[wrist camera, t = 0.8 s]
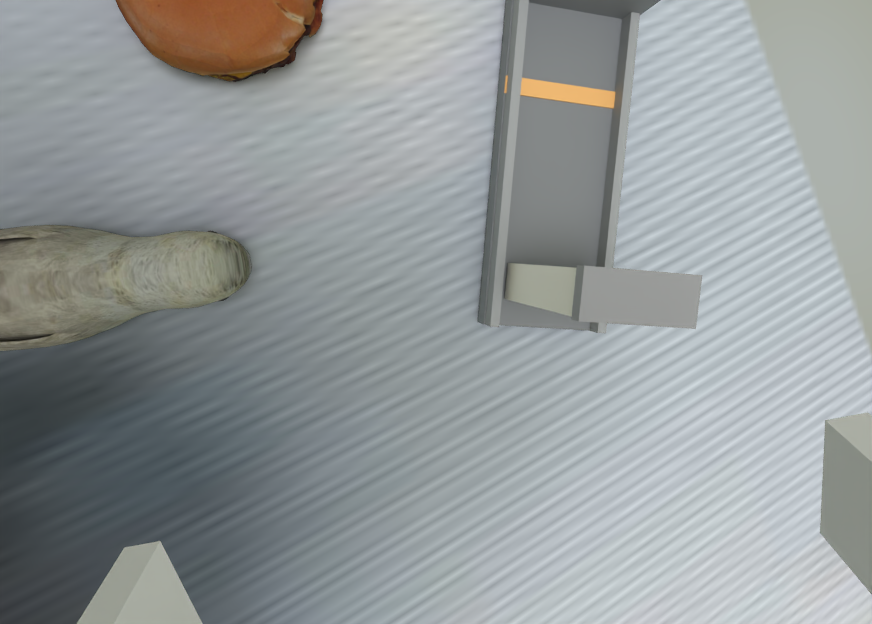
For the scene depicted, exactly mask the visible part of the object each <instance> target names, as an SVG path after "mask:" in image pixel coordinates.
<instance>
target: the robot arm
mask: <svg viewBox="0 0 872 624" xmlns="http://www.w3.org/2000/svg"><path fill="white" fill-rule="evenodd" d="M820 533H821V534H822V536H823V537H824V538H825V539H826V540H827V542H828V543H829V544H830V545H831V546H832V548H833V549H834V550H835V551H836V552H837V554H838V555H839V556H840V557H841V558H842V559H843V561H844V562H845V563H846V564H847V565H848V567H849V568H850V569H851V570H852V571H853V573H854V574H855V575H856V576H857V577H858V579H859V580H860V581H861V582H862V583H863V585H864V586H865V587H866V588H867V589H868V591H869V592H870V593H871V594H872V416H871V415H870V414H869V413H863V414H857V415H852V416H846V417H841V418H835V419H830V420H825V438H824V459H823V480H822V502H821V523H820ZM77 624H202V622H201V620H200V618H199V616H198V614H197V612H196V610H195V608H194V606H193V604H192V602H191V600H190V598H189V597H188V595H187V593H186V591H185V589H184V587H183V585H182V583H181V581H180V579H179V577H178V575H177V573H176V571H175V569H174V567H173V565H172V563H171V561H170V559H169V557H168V555H167V554H166V552H165V550H164V548H163V546H162V544H161V542H160V541H158V542H152V543H147V544H141V545H136V546H130V547H125V548H124V549H123V551H122V552H121V554H120V555H119V557H118V559H117V560H116V562H115V563H114V565H113V567H112V568H111V570H110V571H109V573H108V575H107V576H106V578H105V579H104V581H103V583H102V584H101V586H100V587H99V589H98V591H97V592H96V594H95V595H94V597H93V599H92V600H91V602H90V603H89V605H88V607H87V608H86V610H85V611H84V613H83V615H82V616H81V618H80V619H79V621H78V623H77Z"/></svg>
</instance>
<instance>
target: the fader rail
mask: <svg viewBox="0 0 872 624" xmlns="http://www.w3.org/2000/svg"><path fill="white" fill-rule="evenodd" d="M659 1H660V0H506V5H505V16H504V27H503V39H502V50H501V62H500V73H499V84H498V96H497V107H496V119H495V130H494V142H493V153H492V164H491V176H490V187H489V199H488V210H487V222H486V233H485V244H484V256H483V267H482V279H481V290H480V302H479V313H478V322H480V323H482V324H486V325H488V326H490V327H499V325H505V326H522V327H539V328H556V329H573V330H589V331H593V332H596V333H606V327H607V323H596V322H580V321H575V320H572V319H571V316H568V315H564V314H560V313H556V312H552V311H549V310H545V309H541V308H537V307H533V306H529V305H526V304H522V303H518V302H514V301H510V300H506V299H505V291H506V280H507V269H508V263H517V264H531V265H546V266H560V267H574V268H576V267H577V265H583V266H595V267H607V268H613V262H614V252H615V243H616V233H617V224H618V215H619V205H620V196H621V187H622V177H623V168H624V159H625V149H626V140H627V131H628V121H629V112H630V102H631V93H632V84H633V74H634V65H635V56H636V46H637V37H638V28H639V18H640V15H641V14H642V13H644V12H645V11H646V10H648V9H649V8H651V7H652V6H653V5H655V4H656V3H657V2H659Z"/></svg>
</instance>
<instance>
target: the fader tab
mask: <svg viewBox="0 0 872 624" xmlns="http://www.w3.org/2000/svg"><path fill="white" fill-rule="evenodd" d="M701 281H702V275H691V274H679V273H667V272H655V271H643V270H631V269H619V268H607V267H595V266H583V265H577V267H576V268H574V267H560V266H546V265H531V264H517V263H508V269H507V280H506V291H505V299H506V300H510V301H514V302H518V303H522V304H526V305H529V306H533V307H537V308H541V309H545V310H549V311H552V312H556V313H560V314H564V315H568V316H571V319H572V320H575V321H580V322H596V323H612V324H628V325H644V326H660V327H676V328H692V329H696V323H697V314H698V306H699V298H700V290H701Z"/></svg>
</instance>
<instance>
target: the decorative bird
mask: <svg viewBox="0 0 872 624" xmlns="http://www.w3.org/2000/svg"><path fill="white" fill-rule="evenodd" d="M250 272H251V260H250V257H249V254H248V252H247V251H246V250H245V248H244V247H243V246H242V245H241V244H240V243H238V242H236V241H235V240H233V239H231V238H229V237H226V236H224V235H221V234H218V233H216V232H213V231H208V232H198V231H179V232H173V233H168V234H163V235H159V236H154V237H128V236H123V235H117V234H113V233H109V232H105V231H101V230H93V229H85V228H79V227H73V226H61V225H39V226H24V227H16V228H8V229H0V351H7V350H20V349H30V348H40V347H49V346H55V345H60V344H66V343H71V342H75V341H78V340H81V339H85V338H88V337H91V336H93V335H95V334H98V333H100V332H103V331H106V330H109V329H111V328H114V327H116V326H119V325H121V324H122V323H124V322H126V321H128V320H130V319H132V318H134V317H136V316H138V315H141V314H143V313H148V312H152V311H157V310H162V309H172V308H194V307H199V306H203V305H206V304H209V303H212V302H216V301H223V300H225V299H227V298H228V297H229V296H230V295H232V294H233V293H235V292H236V291H237V290H238V289H239V288H241V287H242V286H243V285H244V284H245V282H246V281H247V279H248V277H249V275H250Z"/></svg>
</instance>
